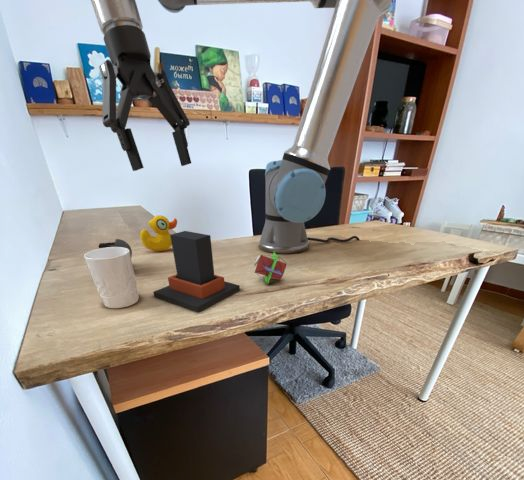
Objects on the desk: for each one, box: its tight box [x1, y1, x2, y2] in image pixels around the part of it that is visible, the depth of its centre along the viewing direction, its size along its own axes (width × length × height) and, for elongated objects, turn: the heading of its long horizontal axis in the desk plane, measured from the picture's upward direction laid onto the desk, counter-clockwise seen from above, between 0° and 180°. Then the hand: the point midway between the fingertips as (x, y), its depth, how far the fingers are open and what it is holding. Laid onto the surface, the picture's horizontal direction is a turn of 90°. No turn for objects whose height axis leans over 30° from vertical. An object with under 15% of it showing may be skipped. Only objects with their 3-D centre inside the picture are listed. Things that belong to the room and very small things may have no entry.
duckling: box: [139, 214, 178, 252], centre depth 89 cm, size 11×5×10 cm, turn 110°
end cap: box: [97, 238, 133, 258], centre depth 74 cm, size 10×7×7 cm
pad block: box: [170, 230, 215, 285], centre depth 60 cm, size 4×7×11 cm, turn 55°
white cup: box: [83, 247, 140, 309], centre depth 58 cm, size 8×8×10 cm
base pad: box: [153, 273, 241, 313], centre depth 63 cm, size 13×13×4 cm
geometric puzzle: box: [253, 252, 288, 285], centre depth 68 cm, size 7×7×8 cm
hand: (164, 167), depth 64 cm, fingers open, 13 cm apart
